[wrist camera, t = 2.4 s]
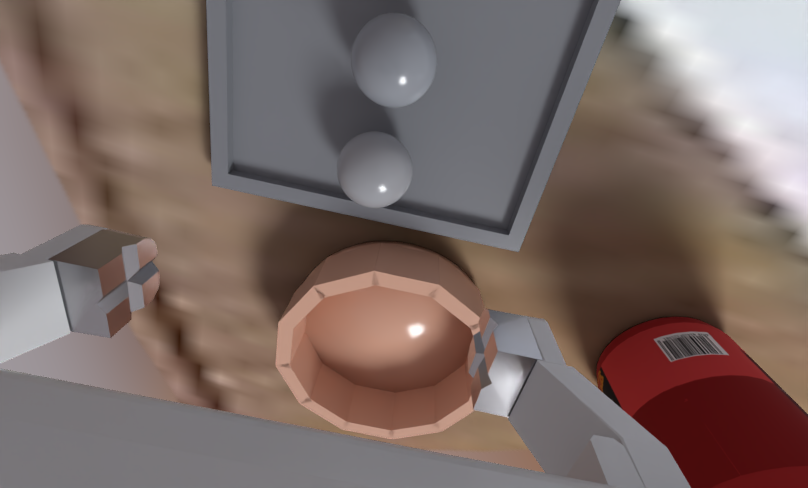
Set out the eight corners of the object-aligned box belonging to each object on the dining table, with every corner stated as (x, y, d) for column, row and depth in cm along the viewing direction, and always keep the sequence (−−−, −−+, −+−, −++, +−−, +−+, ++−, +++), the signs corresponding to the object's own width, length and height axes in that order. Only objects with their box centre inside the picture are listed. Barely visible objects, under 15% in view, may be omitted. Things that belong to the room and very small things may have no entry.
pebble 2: (350, 116, 18) (333, 132, 15) (421, 132, 18) (419, 151, 15) (340, 184, 20) (324, 211, 17) (406, 199, 20) (401, 227, 17)
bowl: (304, 221, 21) (283, 251, 18) (514, 266, 22) (527, 303, 19) (290, 372, 27) (272, 415, 24) (457, 406, 28) (460, 452, 24)
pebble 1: (365, 5, 16) (349, -2, 13) (445, 25, 16) (448, 22, 13) (353, 92, 18) (337, 103, 15) (426, 109, 18) (425, 123, 15)
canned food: (566, 367, 25) (650, 572, 16) (674, 288, 22) (866, 486, 12) (643, 419, 27) (761, 632, 17) (754, 354, 24) (976, 572, 14)
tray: (216, -227, 13) (198, -249, 12) (653, -113, 14) (671, -126, 13) (223, 177, 21) (212, 185, 19) (514, 241, 21) (518, 252, 20)
